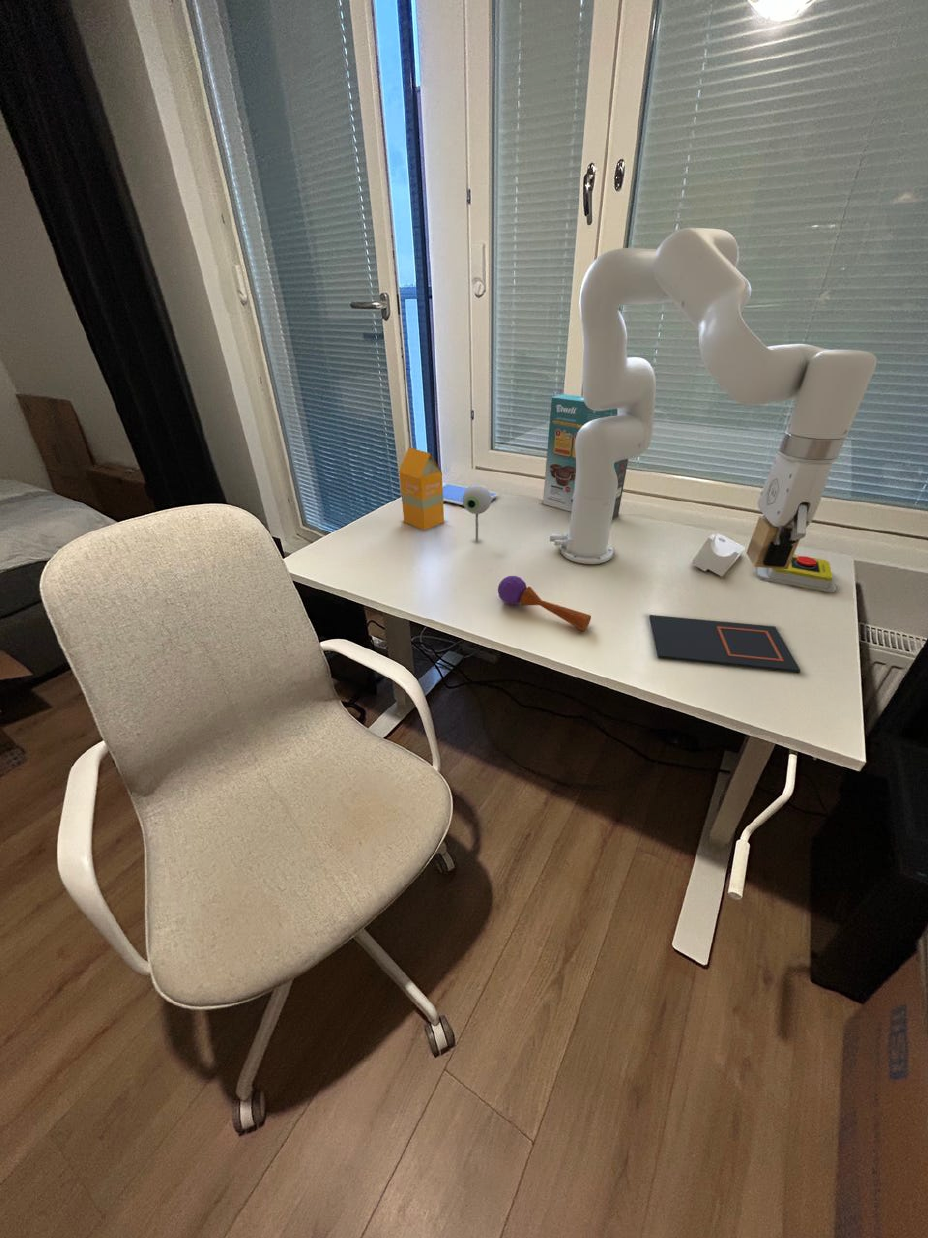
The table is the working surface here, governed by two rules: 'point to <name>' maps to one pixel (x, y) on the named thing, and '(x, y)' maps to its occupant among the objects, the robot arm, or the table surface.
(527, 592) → the kendama
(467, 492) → the eyeball on stand
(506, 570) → the table surface
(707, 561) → the bracket
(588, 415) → the cake mix box
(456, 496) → the tablet
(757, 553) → the piece
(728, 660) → the desk mat
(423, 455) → the orange juice
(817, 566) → the emergency button
